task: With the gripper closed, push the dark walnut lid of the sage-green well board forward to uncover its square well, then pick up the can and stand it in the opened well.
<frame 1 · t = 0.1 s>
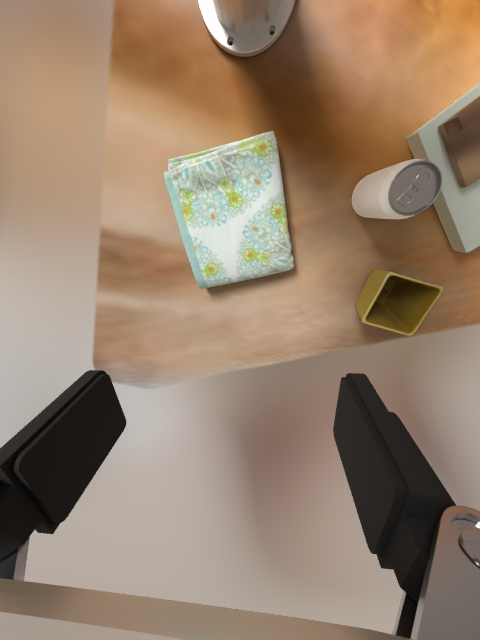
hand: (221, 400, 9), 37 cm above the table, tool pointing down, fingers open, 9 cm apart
can: (370, 196, 37), on the table
towel: (234, 219, 41), on the table
flower pot: (375, 288, 44), on the table
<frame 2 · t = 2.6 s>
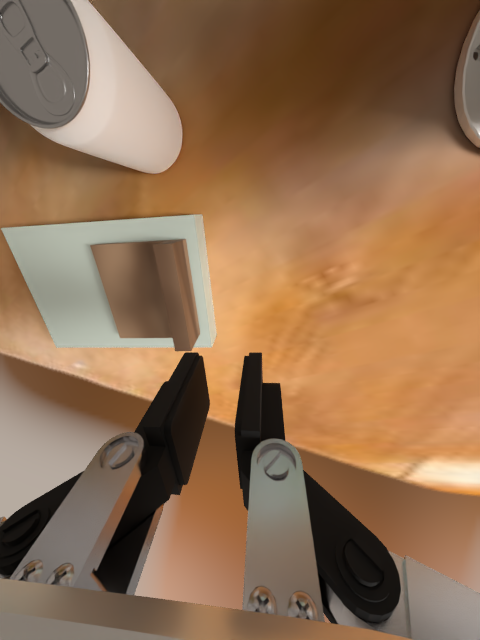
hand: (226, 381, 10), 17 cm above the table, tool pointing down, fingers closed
can: (150, 133, 21), on the table
lid: (144, 297, 22), point 5 cm above the table, slide at 0.0 cm
well board: (128, 284, 27), on the table
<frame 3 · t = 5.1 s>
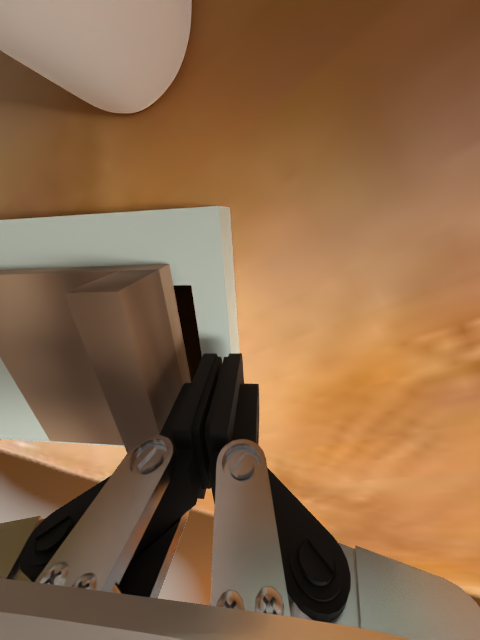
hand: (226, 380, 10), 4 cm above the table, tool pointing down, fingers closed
can: (115, 13, 9), on the table
lid: (79, 387, 10), point 5 cm above the table, slide at 1.2 cm, touching gripper
well board: (90, 333, 15), on the table
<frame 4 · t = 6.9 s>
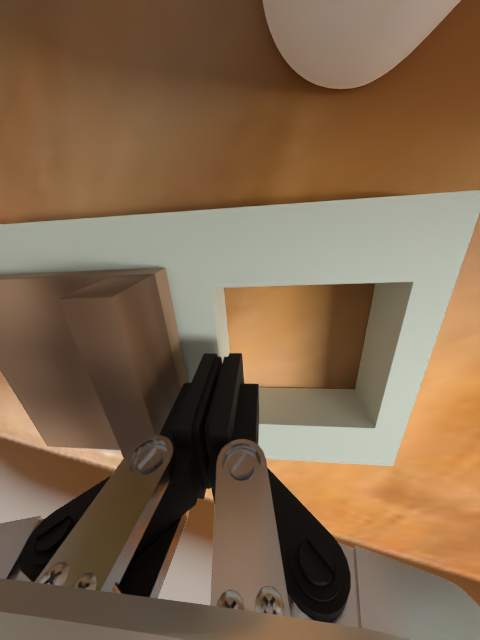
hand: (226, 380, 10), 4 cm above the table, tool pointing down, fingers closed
lid: (75, 392, 10), point 5 cm above the table, slide at 10.2 cm
well board: (220, 336, 14), on the table
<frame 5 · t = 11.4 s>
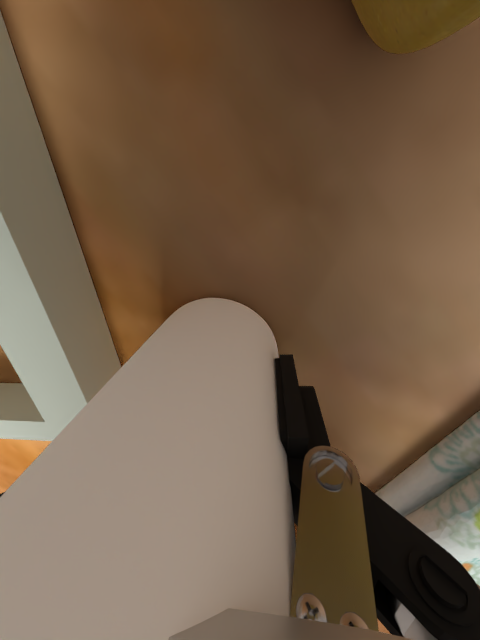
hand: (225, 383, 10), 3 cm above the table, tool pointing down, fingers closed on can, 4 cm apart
can: (220, 347, 13), on the table, touching gripper
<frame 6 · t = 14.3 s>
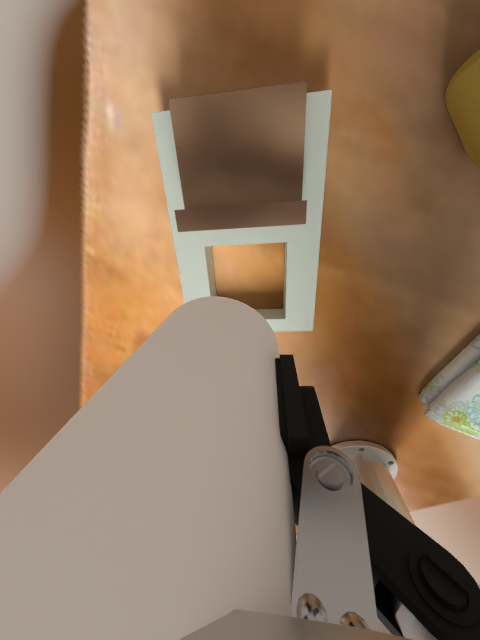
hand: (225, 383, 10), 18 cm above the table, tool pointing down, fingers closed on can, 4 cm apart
can: (220, 346, 13), point 15 cm above the table, touching gripper
lid: (238, 163, 17), point 5 cm above the table, slide at 10.2 cm
well board: (246, 235, 24), on the table
when the fingers open (5 cm above the table, at t = 17.1 s): can drops 2 cm, resting in well board.
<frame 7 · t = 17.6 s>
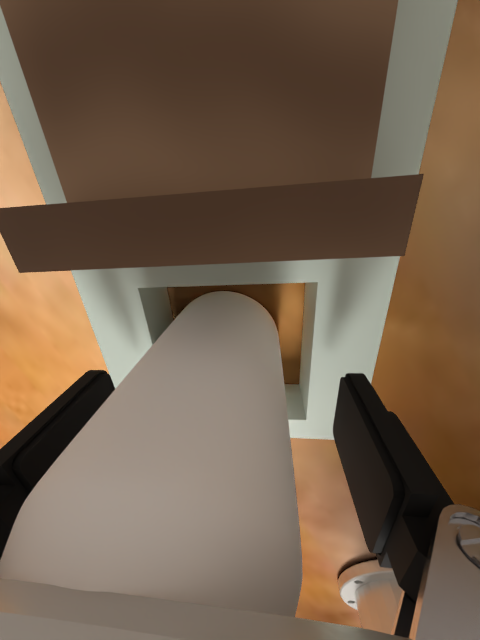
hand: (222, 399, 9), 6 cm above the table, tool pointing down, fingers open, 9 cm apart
can: (227, 335, 15), resting in well board
lid: (186, 63, 6), point 5 cm above the table, slide at 10.2 cm
well board: (231, 260, 13), on the table
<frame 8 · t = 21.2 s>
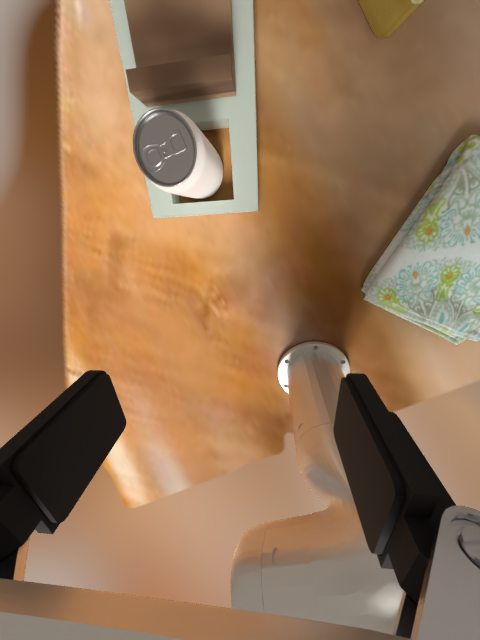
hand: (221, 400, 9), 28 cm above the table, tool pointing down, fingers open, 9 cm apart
can: (200, 172, 31), resting in well board
lid: (177, 30, 21), point 5 cm above the table, slide at 10.2 cm
well board: (199, 125, 28), on the table
towel: (451, 254, 32), on the table
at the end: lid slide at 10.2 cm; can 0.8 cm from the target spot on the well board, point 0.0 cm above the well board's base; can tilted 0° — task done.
